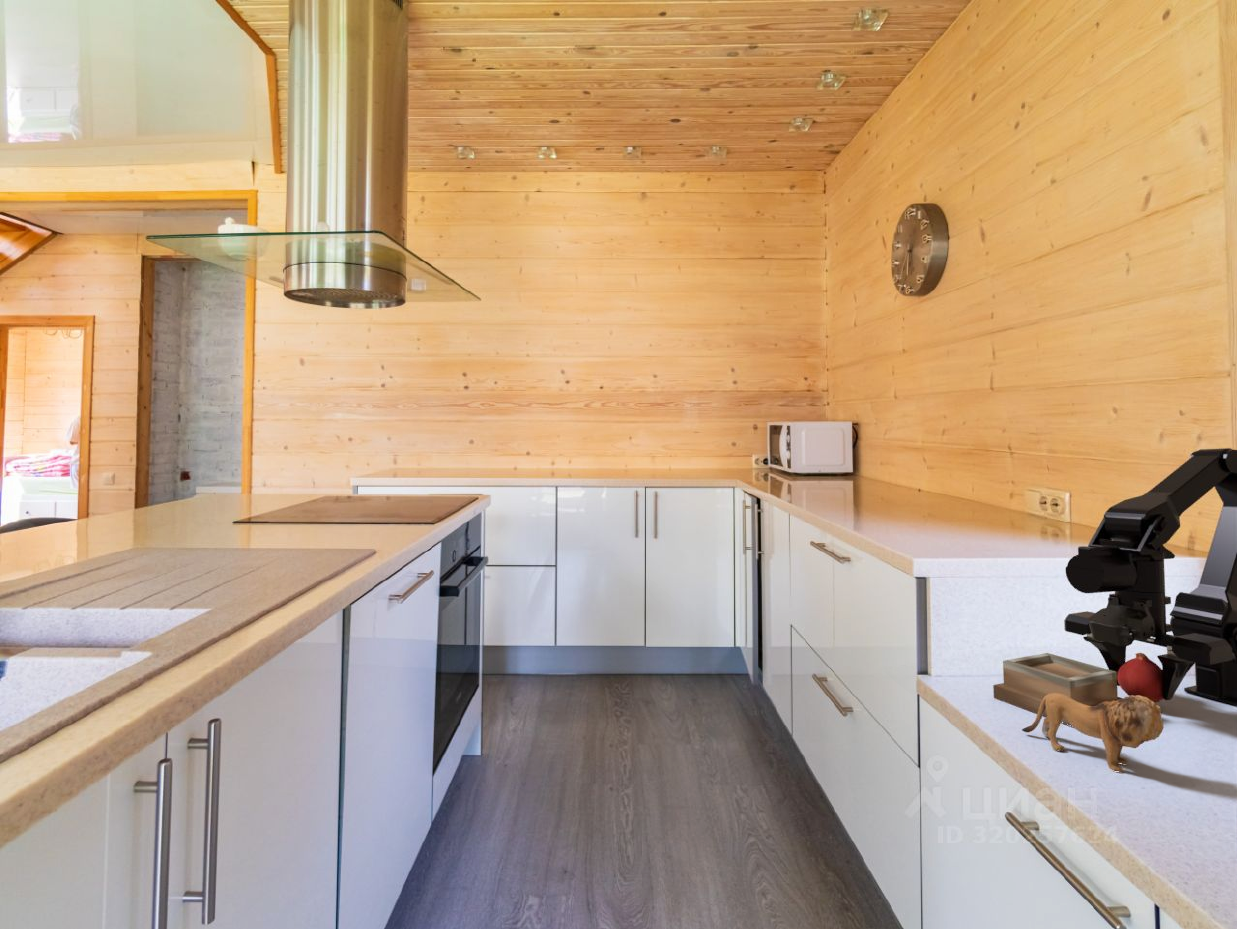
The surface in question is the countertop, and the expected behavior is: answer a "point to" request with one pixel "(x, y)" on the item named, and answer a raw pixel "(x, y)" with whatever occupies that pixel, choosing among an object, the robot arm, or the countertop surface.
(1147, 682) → the onion
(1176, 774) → the countertop surface
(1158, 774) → the countertop surface
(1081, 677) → the wooden tray on base
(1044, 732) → the lion figurine
